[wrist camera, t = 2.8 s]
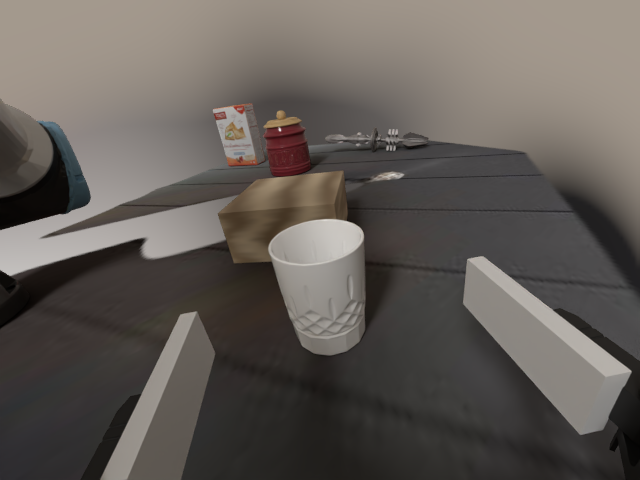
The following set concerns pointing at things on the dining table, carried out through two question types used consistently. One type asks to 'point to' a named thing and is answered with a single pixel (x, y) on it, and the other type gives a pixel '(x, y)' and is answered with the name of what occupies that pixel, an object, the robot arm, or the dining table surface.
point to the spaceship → (380, 139)
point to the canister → (286, 146)
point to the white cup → (322, 282)
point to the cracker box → (239, 134)
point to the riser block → (279, 211)
